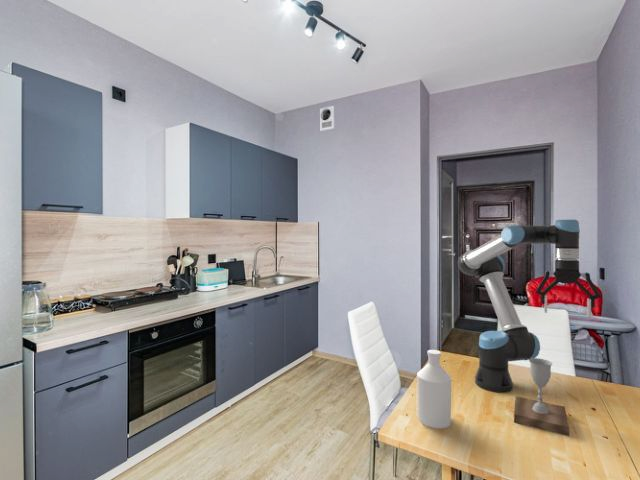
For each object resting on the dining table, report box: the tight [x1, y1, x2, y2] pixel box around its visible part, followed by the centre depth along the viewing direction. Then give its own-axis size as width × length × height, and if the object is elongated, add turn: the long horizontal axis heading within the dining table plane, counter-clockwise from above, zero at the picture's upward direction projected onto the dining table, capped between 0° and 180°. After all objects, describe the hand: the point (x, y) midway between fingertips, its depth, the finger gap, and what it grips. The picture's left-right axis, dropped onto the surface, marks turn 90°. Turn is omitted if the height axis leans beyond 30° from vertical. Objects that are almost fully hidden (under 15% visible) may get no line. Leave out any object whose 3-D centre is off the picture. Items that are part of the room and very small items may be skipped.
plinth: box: [513, 395, 570, 437], centre depth 124 cm, size 16×16×3 cm
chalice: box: [528, 357, 553, 414], centre depth 124 cm, size 7×7×18 cm
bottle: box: [416, 349, 452, 430], centre depth 123 cm, size 12×12×25 cm
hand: (566, 314), depth 131 cm, fingers open, 13 cm apart
